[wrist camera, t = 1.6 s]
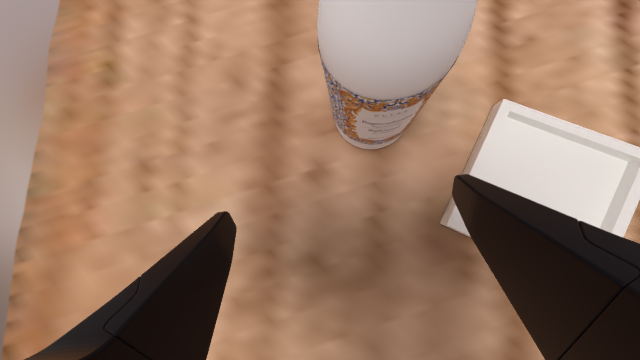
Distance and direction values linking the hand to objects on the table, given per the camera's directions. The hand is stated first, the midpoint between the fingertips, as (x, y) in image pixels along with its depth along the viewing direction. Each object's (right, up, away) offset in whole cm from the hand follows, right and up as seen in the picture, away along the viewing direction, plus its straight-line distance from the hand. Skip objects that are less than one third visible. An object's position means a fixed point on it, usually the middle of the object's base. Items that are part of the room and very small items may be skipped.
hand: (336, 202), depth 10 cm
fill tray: (+18, 0, +11) cm, 21 cm away
